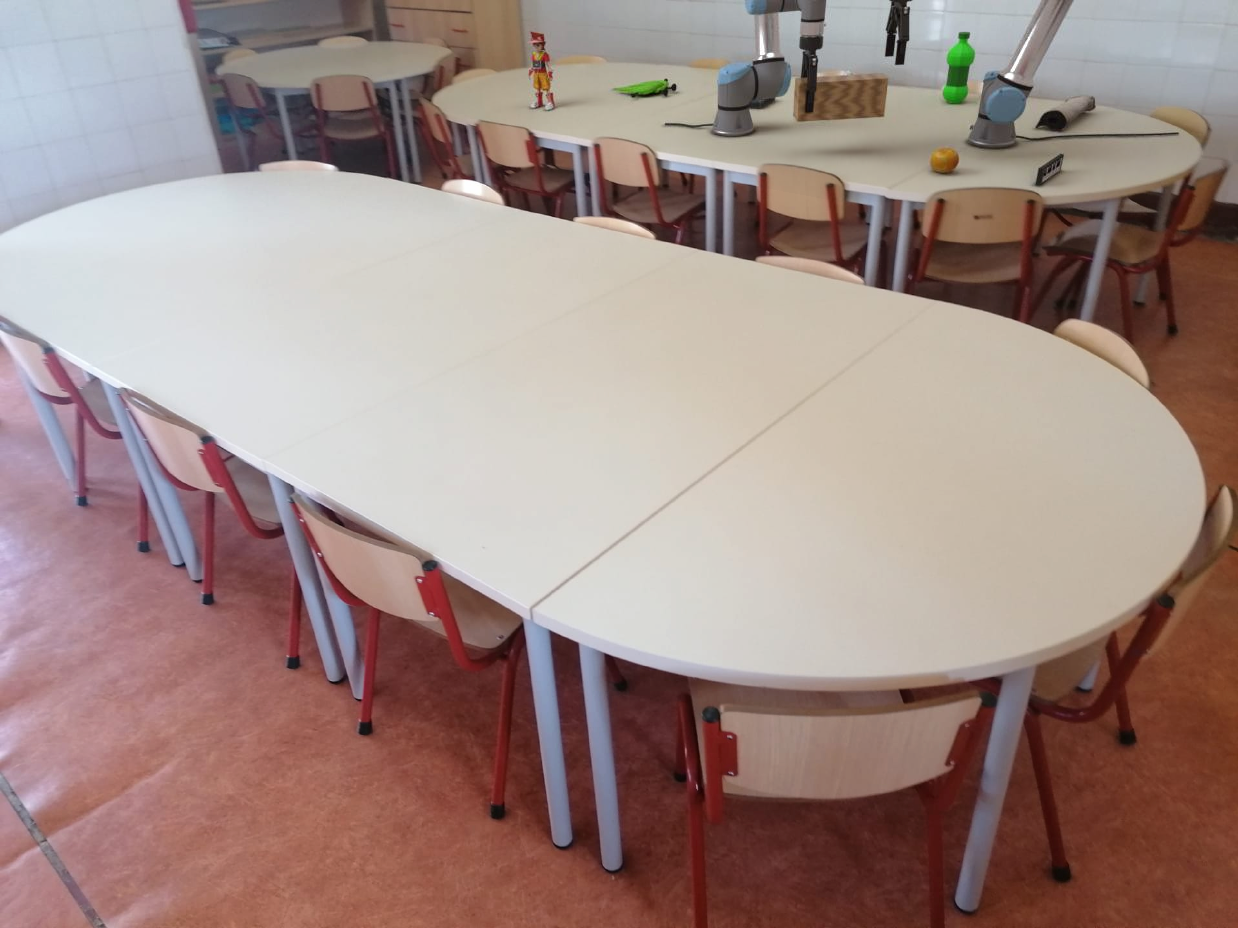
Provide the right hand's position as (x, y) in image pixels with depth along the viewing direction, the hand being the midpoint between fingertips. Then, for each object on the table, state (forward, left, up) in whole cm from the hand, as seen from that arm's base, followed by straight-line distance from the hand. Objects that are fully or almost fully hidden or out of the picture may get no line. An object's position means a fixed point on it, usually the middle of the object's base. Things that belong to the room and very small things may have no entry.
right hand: (894, 60), depth 289 cm
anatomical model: (-14, -81, -29) cm, 87 cm away
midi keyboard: (-38, +40, -29) cm, 62 cm away
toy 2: (+70, -116, -29) cm, 138 cm away
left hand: (+26, -6, -14) cm, 31 cm away
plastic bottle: (-48, -57, -29) cm, 80 cm away
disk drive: (+26, -78, -29) cm, 88 cm away
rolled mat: (-74, -19, -29) cm, 82 cm away
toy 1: (+114, -101, -29) cm, 155 cm away
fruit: (-10, +26, -29) cm, 40 cm away
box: (+15, -6, -18) cm, 24 cm away
